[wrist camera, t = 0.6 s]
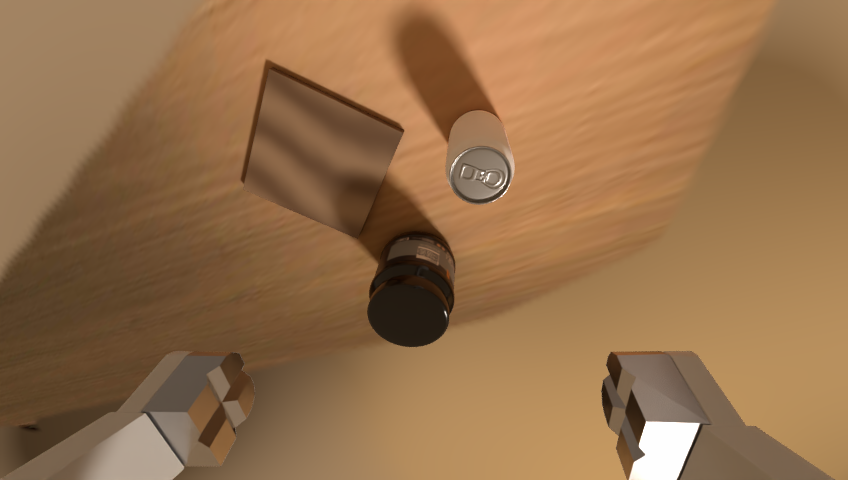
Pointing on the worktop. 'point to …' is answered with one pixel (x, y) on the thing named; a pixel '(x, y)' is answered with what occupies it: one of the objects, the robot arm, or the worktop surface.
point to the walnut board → (318, 154)
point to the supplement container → (412, 290)
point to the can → (479, 158)
